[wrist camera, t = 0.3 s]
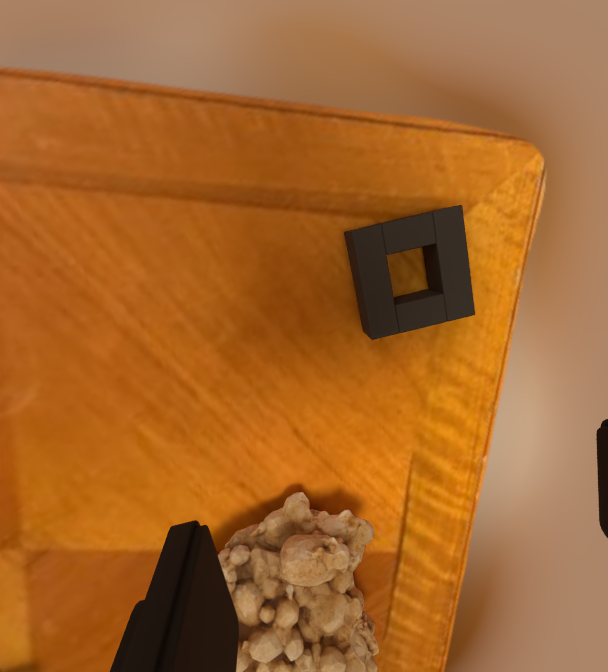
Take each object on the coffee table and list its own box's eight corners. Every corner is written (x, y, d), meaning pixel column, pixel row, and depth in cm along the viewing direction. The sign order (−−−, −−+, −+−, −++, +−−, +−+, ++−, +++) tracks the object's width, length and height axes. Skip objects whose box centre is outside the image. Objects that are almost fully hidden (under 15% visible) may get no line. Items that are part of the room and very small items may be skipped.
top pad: (343, 231, 26) (350, 230, 24) (445, 207, 26) (462, 204, 24) (363, 332, 28) (371, 340, 25) (458, 308, 28) (475, 314, 26)
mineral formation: (365, 618, 34) (185, 654, 32) (353, 467, 33) (166, 494, 31) (401, 713, 26) (164, 769, 24) (386, 517, 25) (137, 558, 23)
